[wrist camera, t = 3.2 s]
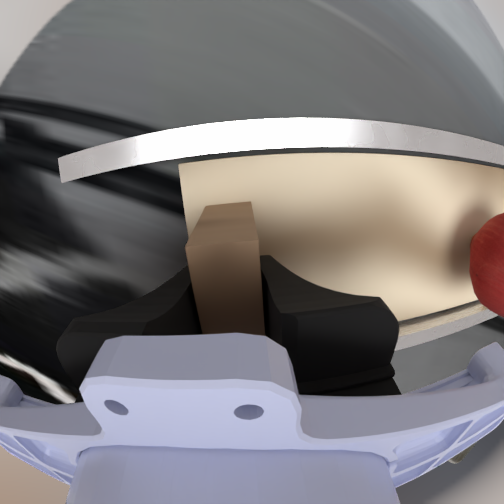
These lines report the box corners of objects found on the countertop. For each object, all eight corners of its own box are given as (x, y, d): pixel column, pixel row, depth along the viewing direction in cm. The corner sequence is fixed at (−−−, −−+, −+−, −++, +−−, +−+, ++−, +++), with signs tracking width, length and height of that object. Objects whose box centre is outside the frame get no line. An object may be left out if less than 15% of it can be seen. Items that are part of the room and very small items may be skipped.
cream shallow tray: (488, 291, 16) (528, 327, 11) (210, 340, 15) (202, 416, 10) (510, 170, 12) (565, 189, 7) (180, 163, 12) (138, 179, 7)
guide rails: (494, 303, 16) (505, 312, 15) (132, 358, 16) (126, 375, 14) (521, 153, 11) (535, 157, 10) (75, 155, 11) (58, 158, 10)
